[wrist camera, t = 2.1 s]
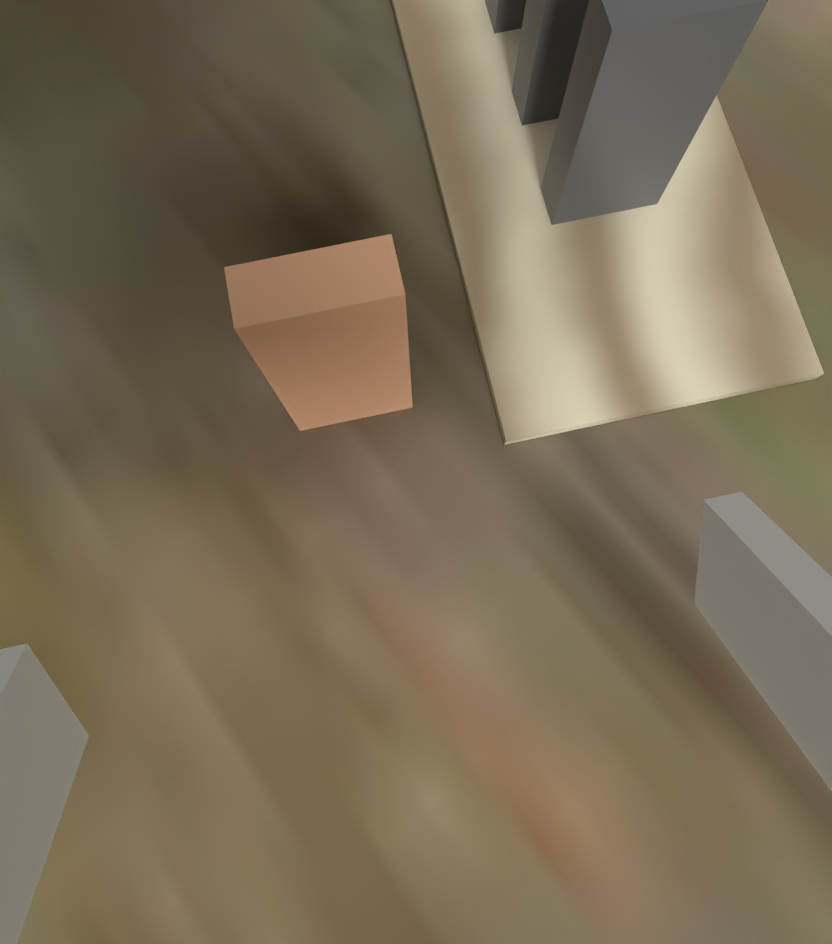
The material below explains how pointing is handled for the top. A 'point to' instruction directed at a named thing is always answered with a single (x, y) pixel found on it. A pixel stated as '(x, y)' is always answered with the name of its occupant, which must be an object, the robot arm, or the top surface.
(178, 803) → the top surface
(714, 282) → the birch board
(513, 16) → the dark grey block
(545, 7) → the grey rectangular slab
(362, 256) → the salmon orange block
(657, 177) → the dark grey block
